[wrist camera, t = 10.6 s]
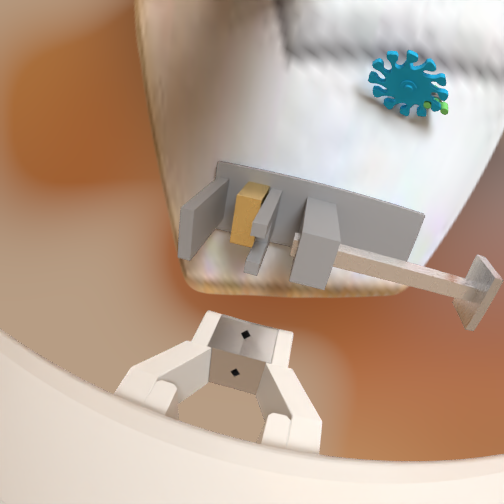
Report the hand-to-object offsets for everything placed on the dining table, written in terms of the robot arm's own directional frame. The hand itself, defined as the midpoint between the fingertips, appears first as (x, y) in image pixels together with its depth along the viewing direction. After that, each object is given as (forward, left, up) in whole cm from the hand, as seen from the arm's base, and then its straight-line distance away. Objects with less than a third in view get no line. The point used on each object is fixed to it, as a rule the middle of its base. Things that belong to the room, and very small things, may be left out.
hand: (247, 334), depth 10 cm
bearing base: (+8, +4, -34) cm, 35 cm away
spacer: (+8, -5, -33) cm, 34 cm away
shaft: (+8, +15, -27) cm, 32 cm away
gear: (-13, +11, -34) cm, 38 cm away
